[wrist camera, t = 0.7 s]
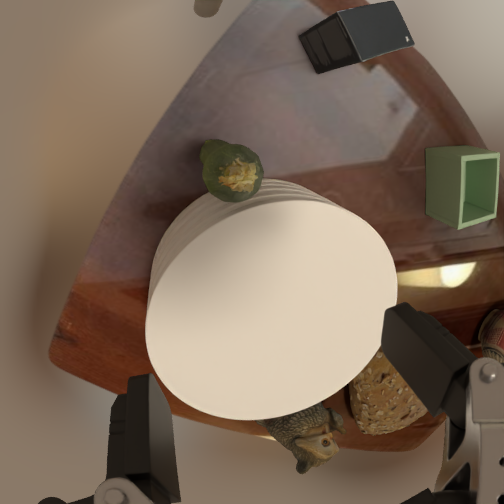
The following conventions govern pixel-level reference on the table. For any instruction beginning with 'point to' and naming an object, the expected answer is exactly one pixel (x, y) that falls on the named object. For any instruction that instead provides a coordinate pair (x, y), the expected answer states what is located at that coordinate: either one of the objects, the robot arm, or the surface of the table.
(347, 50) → the box
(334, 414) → the figurine
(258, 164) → the vegetable
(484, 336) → the ceramic jug
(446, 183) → the bin
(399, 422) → the bread
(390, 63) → the table surface
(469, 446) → the robot arm
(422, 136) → the table surface
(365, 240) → the plate stack
